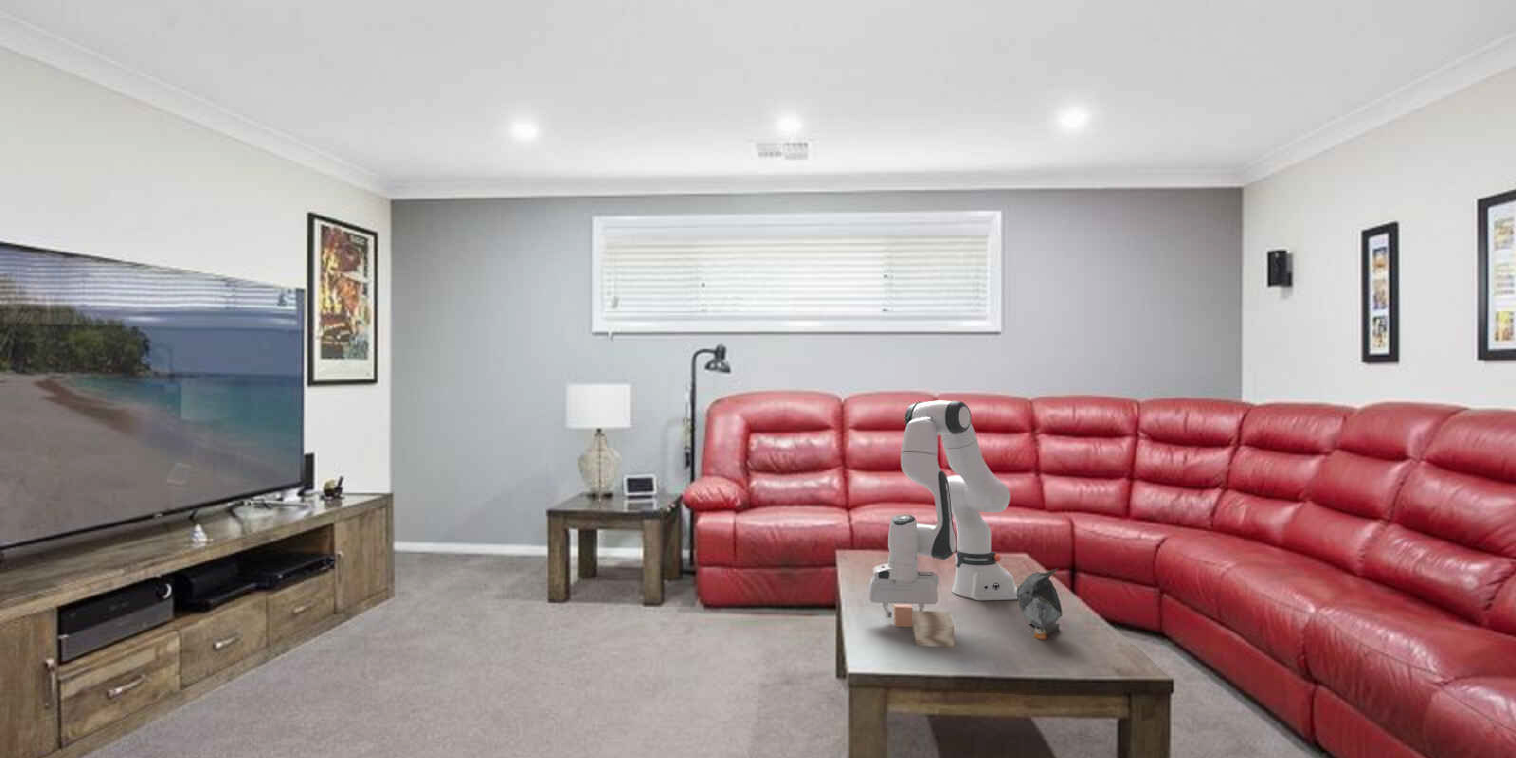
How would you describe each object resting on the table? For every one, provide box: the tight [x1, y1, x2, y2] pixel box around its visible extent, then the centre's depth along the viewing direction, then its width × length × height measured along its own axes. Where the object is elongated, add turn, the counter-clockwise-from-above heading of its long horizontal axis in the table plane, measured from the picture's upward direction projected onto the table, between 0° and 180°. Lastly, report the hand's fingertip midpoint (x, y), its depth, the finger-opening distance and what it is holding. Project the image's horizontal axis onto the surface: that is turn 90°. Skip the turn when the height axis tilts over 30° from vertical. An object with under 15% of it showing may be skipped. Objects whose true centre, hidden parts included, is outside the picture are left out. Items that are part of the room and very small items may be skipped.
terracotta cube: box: [893, 603, 914, 628], centre depth 226 cm, size 5×5×5 cm
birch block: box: [912, 610, 955, 648], centre depth 213 cm, size 10×12×6 cm
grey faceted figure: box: [1016, 567, 1063, 640], centre depth 217 cm, size 14×15×18 cm
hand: (902, 617), depth 226 cm, fingers open, 7 cm apart
